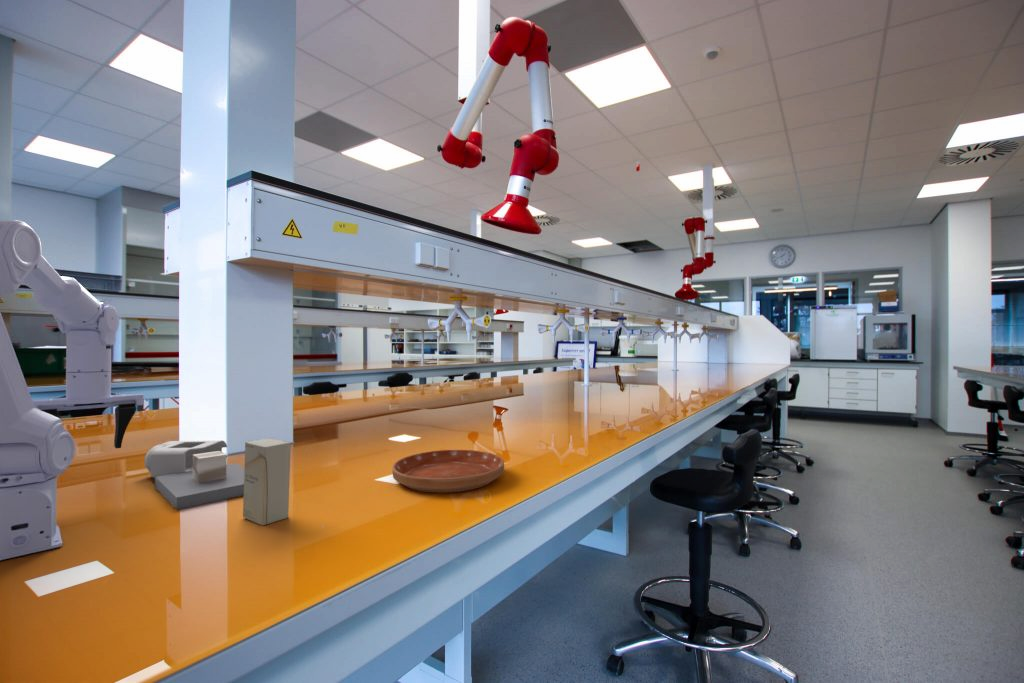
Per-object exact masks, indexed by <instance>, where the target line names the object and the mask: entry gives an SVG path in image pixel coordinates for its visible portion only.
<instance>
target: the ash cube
mask: <svg viewBox="0 0 1024 683" xmlns="http://www.w3.org/2000/svg"><path fill="white" fill-rule="evenodd" d="M226 455H227V454H226V453H224V452H223V451H222V452H221V451H215V452H208V453H201V454H194V455H193V479H194V480H196V481H197V482H198V483H201V482H207V481H212V480H218V479H223V478H226V465H227V458H226Z"/></svg>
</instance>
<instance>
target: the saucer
mask: <svg viewBox="0 0 1024 683" xmlns="http://www.w3.org/2000/svg"><path fill="white" fill-rule="evenodd" d="M392 464H393V465H392V467H391V470H392V477H393V479H394V480H395V482H398V483H399V484H401V485H403V486H405V487H407V488H409V489H411V490H414V491H419V492H426V493H434V492H435V493H437V494H442V493H444V494H447V493H448V492H449V493H458V492H465V491H467V492H468V491H471V490H475V489H480V488H482V487H484V486H487V485H489V484H491V483H492V482H494V481H495V480H496V479H498V478H500V477H501V476H502V475H503V473H504V472H505V462H504V459H503V458H502V457H501V456H500V455H497V454H494V453H491V452H486V451H481V450H471V449H440V450H432V451H424V452H419V453H415V454H410V455H408V456H405V457H402V458H400V459H398V460H397V461H395V462H394V463H392Z"/></svg>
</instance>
